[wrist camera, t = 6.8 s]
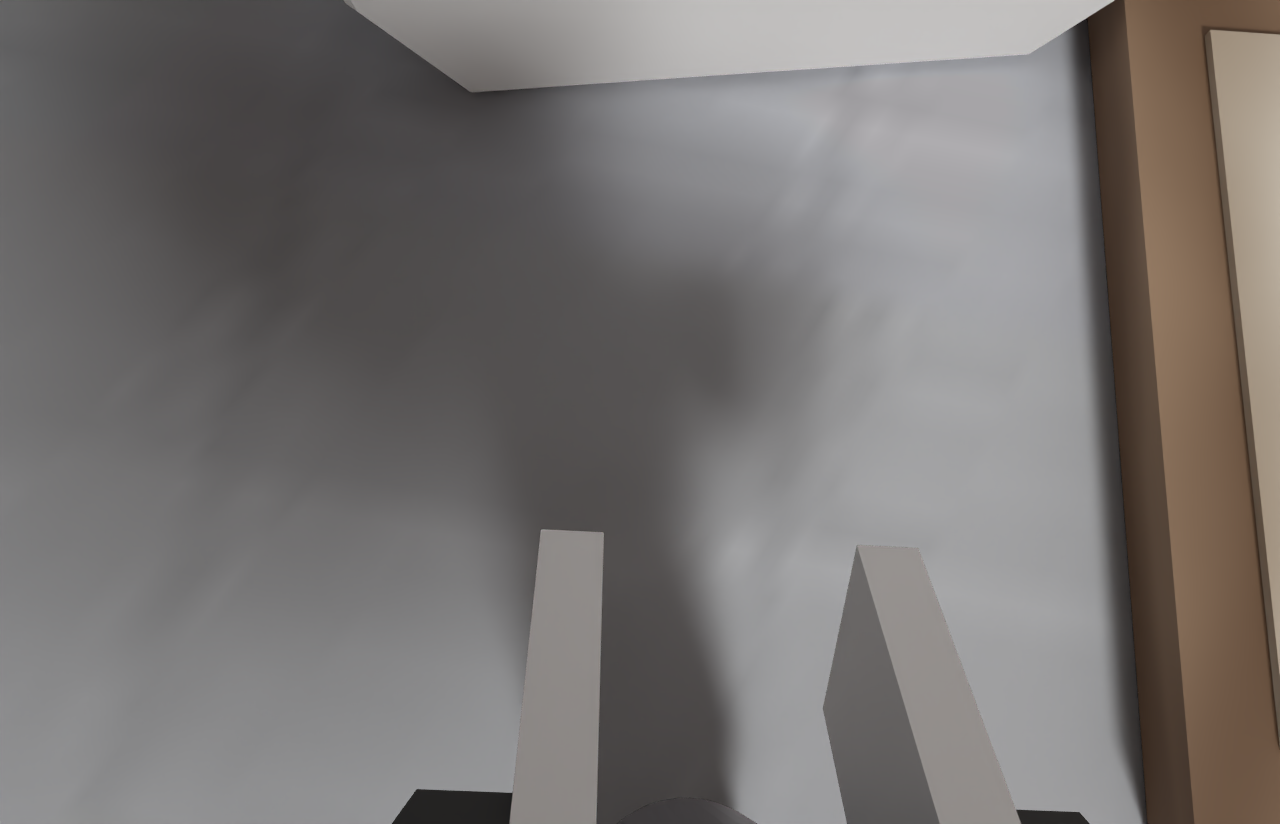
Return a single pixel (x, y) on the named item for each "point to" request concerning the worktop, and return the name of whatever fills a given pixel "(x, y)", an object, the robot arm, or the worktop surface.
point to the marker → (686, 813)
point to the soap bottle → (705, 35)
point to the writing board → (1197, 386)
